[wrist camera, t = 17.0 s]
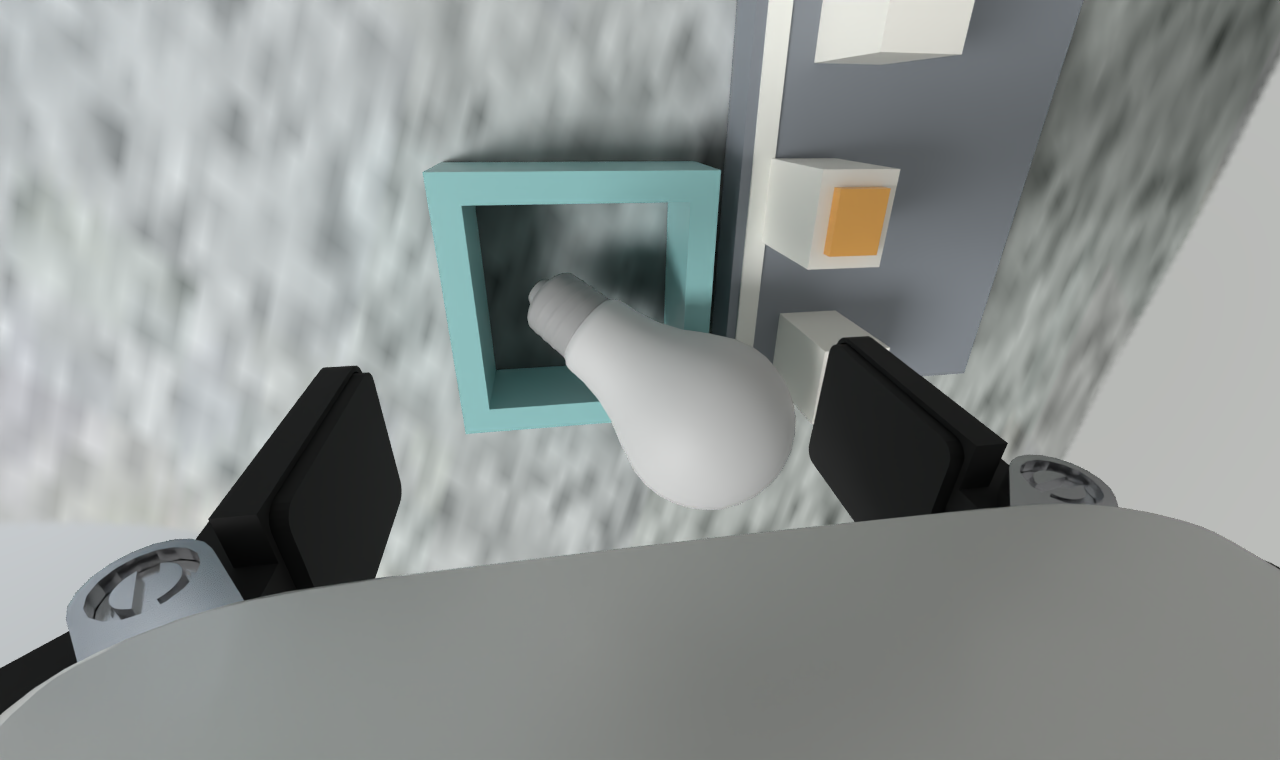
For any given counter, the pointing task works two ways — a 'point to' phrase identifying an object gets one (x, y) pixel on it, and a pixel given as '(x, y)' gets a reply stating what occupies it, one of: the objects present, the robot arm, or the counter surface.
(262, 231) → the counter surface
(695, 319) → the socket
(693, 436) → the lightbulb
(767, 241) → the block
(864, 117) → the breaker panel
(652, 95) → the counter surface
